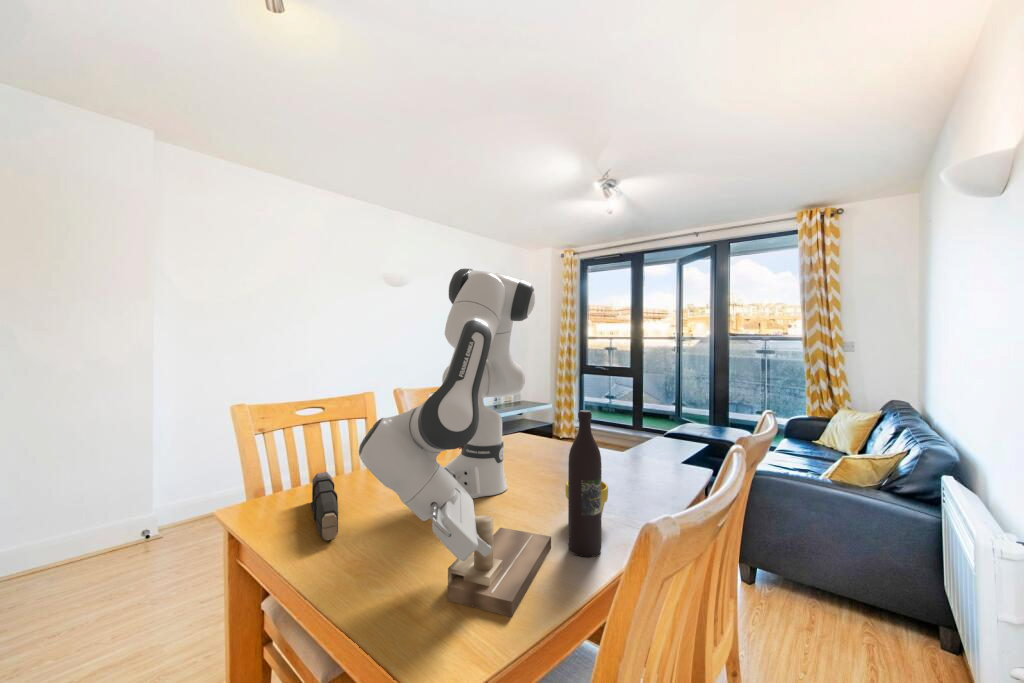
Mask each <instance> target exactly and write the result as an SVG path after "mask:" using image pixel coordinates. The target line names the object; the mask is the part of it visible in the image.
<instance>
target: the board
mask: <svg viewBox="0 0 1024 683" xmlns="http://www.w3.org/2000/svg"><path fill="white" fill-rule="evenodd" d="M551 549H552V536H551V535H545V534H540V533H539V534H538V533H533V532H530V531H529V532H528V531H522V530H516V529H512V528H511V529H510V528H505V527H499V528H498V530H496V532H494V533H493V558H494V559H498V560H503V563H502V570H501V571H500V573H499V574H498V575H497V577H496V578H495V579H494V581H493V582H492V584H491V585H490V586H486V585H482V584H478V583H473V582H469V581H465V580H464V576H461V575H457V576H456V577H455V578H454V579H453V580H452V581H451V582H450V584H449V585H448V584H447V588H446V589H447V590H446V591H447V592H446V593H447V594H446V595H447V596H446V600H447V601H449V602H453V603H456V604H460V605H464V606H467V607H472V608H476V609H479V610H484V611H487V612H491V613H494V614H498V615H502V616H506V617H510V618H513V616H514V614H515V613H516V611H517V609H518V607H519V606H520V603H521V601H522V600H523V598H524V597H525V594H526V593H527V591H528V589H529V588H530V586H531V584H532V582H533V580H534V579H535V577H536V575H537V573H538V572H539V570H540V568H541V566H542V564H543V563H544V561H545V560H546V558H547V556H548V554H549V553H550V550H551Z"/></svg>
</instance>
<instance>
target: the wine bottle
mask: <svg viewBox="0 0 1024 683" xmlns="http://www.w3.org/2000/svg"><path fill="white" fill-rule="evenodd" d="M577 415H578V416H577V418H578V430H577V431H578V432H577V434H576V436H575V439H574V441H573V443H572V445H571V447H570V449H569V454H568V480H567V481H568V499H567V500H568V502H567V503H568V504H567V505H568V507H567V508H568V511H567V512H568V518H567V519H568V521H567V522H568V525H567V526H568V528H567V530H568V532H567V534H568V536H567V537H568V538H567V539H568V542H567V544H568V545H567V546H568V549H569V551H570V552H571V553H572V554H574V555H576V556H580V557H583V558H585V557H586V558H590V557H595V556H598V555H599V554H600V553H601V551H602V517H601V481H602V456H601V451H600V448H599V446H598V443H597V442H596V440H595V438H594V436H593V433H592V424H591V420H592V418H593V417H592V416H593V415H592V410H586V409H582V410H579V411H578V414H577Z"/></svg>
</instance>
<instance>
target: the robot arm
mask: <svg viewBox="0 0 1024 683" xmlns="http://www.w3.org/2000/svg"><path fill="white" fill-rule="evenodd" d="M448 299H449V301H450V303H451V308H450V311H449V313H448V315H447V319H446V323H445V328H444V329H445V330H444V337H445V339H446V340H447V342H448V344H449V345H450V346H451V347H452V348H454V351H453V354H452V357H451V360H450V363H449V364H448V366H447V367H446V368H445V370H443V371H444V372H443V374H442V378H441V381H442V382H441V383H442V384H441V385H440V387H439V388H437V390H435V392H433V394H431V395H430V396H429V397H428V398H427V399H426V400H425V401H424V402H423V403H421V404H420V405H418V406H416V407H414V408H412V409H409V410H408V411H407V410H406V411H405V412H403V413H400V414H397V415H394V416H390V417H381V418H380V419H378V420H377V421H376V422H375V423H374V424H373V426H371V428H370V429H369V431H368V432H367V433H366V435H365V437H364V438H363V439H362V441H361V442H360V444H359V448H358V456H359V459H360V461H361V462H362V463H363V465H364V466H365V467H366V469H367V470H368V471H369V472H370V474H372V475H373V476H374V477H375V478H376V479H377V481H379V482H380V484H382V485H383V486H384V487H386V488H388V489H390V490H392V492H394V493H395V494H396V496H397V495H398V497H399V499H400V501H401V502H402V503H403V504H404V506H406V507H407V508H408V509H409V510H410V511H411V512H412V513H413V514H414V515H416V517H417V518H418V519H420V520H421V522H425V521H427V520H429V519H430V521H432V523H431V529H432V532H433V534H434V535H435V536H436V537H437V539H438V540H439V541H440V542H441V544H443V545H444V546H445V547H446V549H448V551H449V553H451V554H452V555H453V556H454V557H455V558H456V559H457V558H458V559H459V560H462V561H465V560H467V559H468V558H469V557H470V555H471V554H474V551H475V550H476V551H479V552H480V553H481V554H482V555H483V556H487V555H488V554H489V553H490V552H491V546H490V544H489V543H488V542H487V541H486V540H482V539H481V538H480V537H479V535H478V534H477V530H476V522H475V518H476V517H477V516H476V514H475V513H476V512H475V506H474V500H473V499H477V498H481V497H488V496H494V495H499V494H501V493H504V492H505V491H506V490H507V489H508V484H507V480H506V476H505V470H504V458H505V448H504V447H505V445H504V441H503V418H502V416H501V414H500V413H499V412H498V411H496V410H494V409H493V408H491V407H488V406H486V405H485V402H484V398H493V397H494V398H496V397H497V398H498V397H500V398H501V397H509V396H512V395H517V394H520V393H521V391H522V390H523V388H524V386H525V382H526V375H525V372H524V369H523V367H522V366H521V365H520V364H519V363H517V362H516V361H515V360H514V359H513V357H512V355H511V352H510V347H511V346H510V345H511V335H512V330H513V323H514V322H522V321H524V320H526V319H528V317H529V315H530V314H531V313H532V312H533V310H534V307H535V303H536V295H535V288H534V286H533V285H532V284H531V283H530V282H527V281H526V280H524V279H517V278H515V277H511V276H508V275H504V274H501V273H498V272H495V273H493V272H491V271H489V272H488V271H483V270H474V269H473V268H459V269H458V270H457V271H455V272H454V273H453V275H452V278H450V281H449V284H448ZM457 449H458V450H460V449H461V452H460V454H458V455H457V456H455V458H453V459H452V460H451V461H449V462H448V463H447V464H446V465H445V466H444V467H443V466H442V465H441V464H440V463H439V462H438V461H437V457H438V456H439V455H440V454H441V452H444V451H447V450H457Z"/></svg>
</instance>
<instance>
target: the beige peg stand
mask: <svg viewBox="0 0 1024 683" xmlns="http://www.w3.org/2000/svg"><path fill="white" fill-rule="evenodd" d="M475 517H476V518H475V522H476V530H477V534H478V535H479V537H480V538H481V539H482V540H486V541H487V542H488V543H489V544H490V546H491V552H490V553H489V554H488V555H487V556H483V555H482V554H481V553H480V552H479V551H476V550H475V551H474V552H473V553H472V554H471V555H470V557H469V558H468V559H467V560H465V561H462V560H459V559H458V558H456V559H455V560H454V562H452V564H450V565H449V567H447V586H448V585H449V584H450V582H451V581H452V580H453V579H454V578H455V577H456V576H457V575H461V576H464V580H465V581H469V582H473V583H478V584H482V585H486V586H490V585H491V584H492V582H493V581H494V579H495V578H496V577H497V575H498V574H499V573H500V571H501V570H502V563H503V560H498V559H494V558H493V535H494V517H493V516H490V515H488V514H487V515H486V514H483V515H478V516H475Z"/></svg>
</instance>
